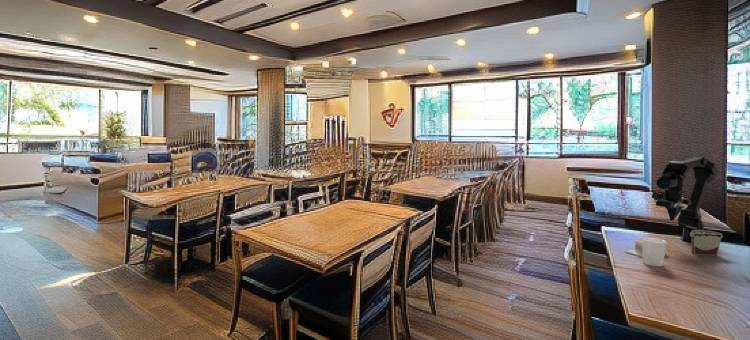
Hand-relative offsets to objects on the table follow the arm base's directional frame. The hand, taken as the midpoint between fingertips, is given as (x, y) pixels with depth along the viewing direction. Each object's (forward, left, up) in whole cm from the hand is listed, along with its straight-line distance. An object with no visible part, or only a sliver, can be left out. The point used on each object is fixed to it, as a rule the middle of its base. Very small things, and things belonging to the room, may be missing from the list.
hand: (671, 220), depth 181 cm
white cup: (+37, -11, -12) cm, 40 cm away
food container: (+8, +10, -12) cm, 18 cm away
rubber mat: (+22, -12, -12) cm, 28 cm away
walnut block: (+15, -7, -9) cm, 19 cm away
